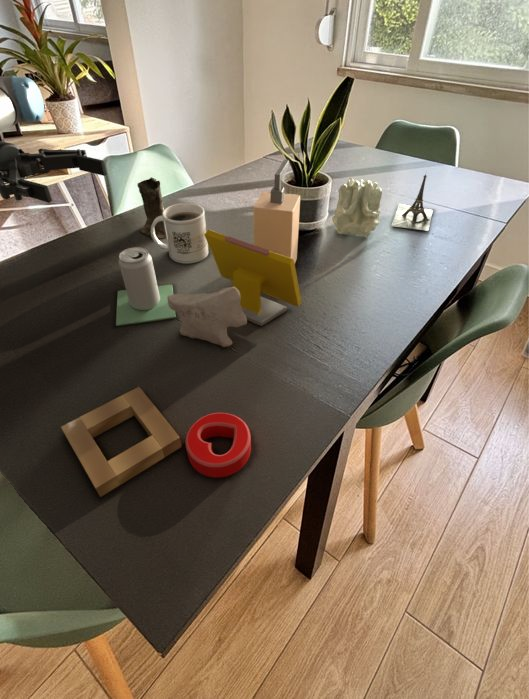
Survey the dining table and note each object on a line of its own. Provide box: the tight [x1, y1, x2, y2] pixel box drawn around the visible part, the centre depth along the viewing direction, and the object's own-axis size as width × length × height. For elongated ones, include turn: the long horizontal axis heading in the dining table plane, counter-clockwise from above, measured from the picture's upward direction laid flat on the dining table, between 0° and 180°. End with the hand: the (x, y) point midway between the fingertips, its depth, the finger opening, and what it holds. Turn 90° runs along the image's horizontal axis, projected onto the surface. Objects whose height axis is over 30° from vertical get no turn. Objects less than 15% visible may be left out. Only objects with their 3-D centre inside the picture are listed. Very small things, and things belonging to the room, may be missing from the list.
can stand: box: [60, 386, 183, 498], centre depth 65 cm, size 13×13×2 cm
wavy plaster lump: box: [331, 177, 383, 238], centre depth 114 cm, size 18×13×16 cm
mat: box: [115, 284, 177, 327], centre depth 92 cm, size 12×12×1 cm
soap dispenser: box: [252, 159, 301, 265], centre depth 97 cm, size 13×9×22 cm
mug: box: [150, 202, 209, 264], centre depth 104 cm, size 10×12×11 cm
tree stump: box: [137, 177, 166, 239], centre depth 112 cm, size 10×10×13 cm
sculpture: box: [167, 286, 248, 348], centre depth 78 cm, size 17×5×15 cm, turn 69°
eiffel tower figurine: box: [391, 170, 434, 232], centre depth 117 cm, size 15×10×13 cm
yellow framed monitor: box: [204, 229, 302, 327], centre depth 86 cm, size 20×8×16 cm, turn 56°
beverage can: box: [118, 246, 160, 310], centre depth 87 cm, size 6×6×12 cm
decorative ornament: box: [185, 412, 252, 478], centre depth 64 cm, size 10×10×3 cm
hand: (77, 180), depth 78 cm, fingers open, 13 cm apart
